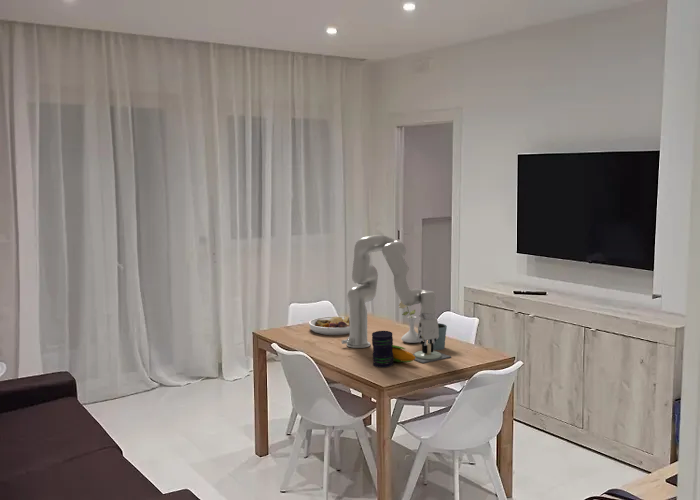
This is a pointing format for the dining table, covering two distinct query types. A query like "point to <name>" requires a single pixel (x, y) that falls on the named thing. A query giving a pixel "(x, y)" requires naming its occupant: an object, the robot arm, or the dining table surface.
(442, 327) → the teal cup
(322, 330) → the bowl
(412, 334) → the flower in vase
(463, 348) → the dining table surface
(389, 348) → the storage jar
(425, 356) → the lid
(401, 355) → the corn
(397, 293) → the robot arm
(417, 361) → the mat
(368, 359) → the dining table surface
